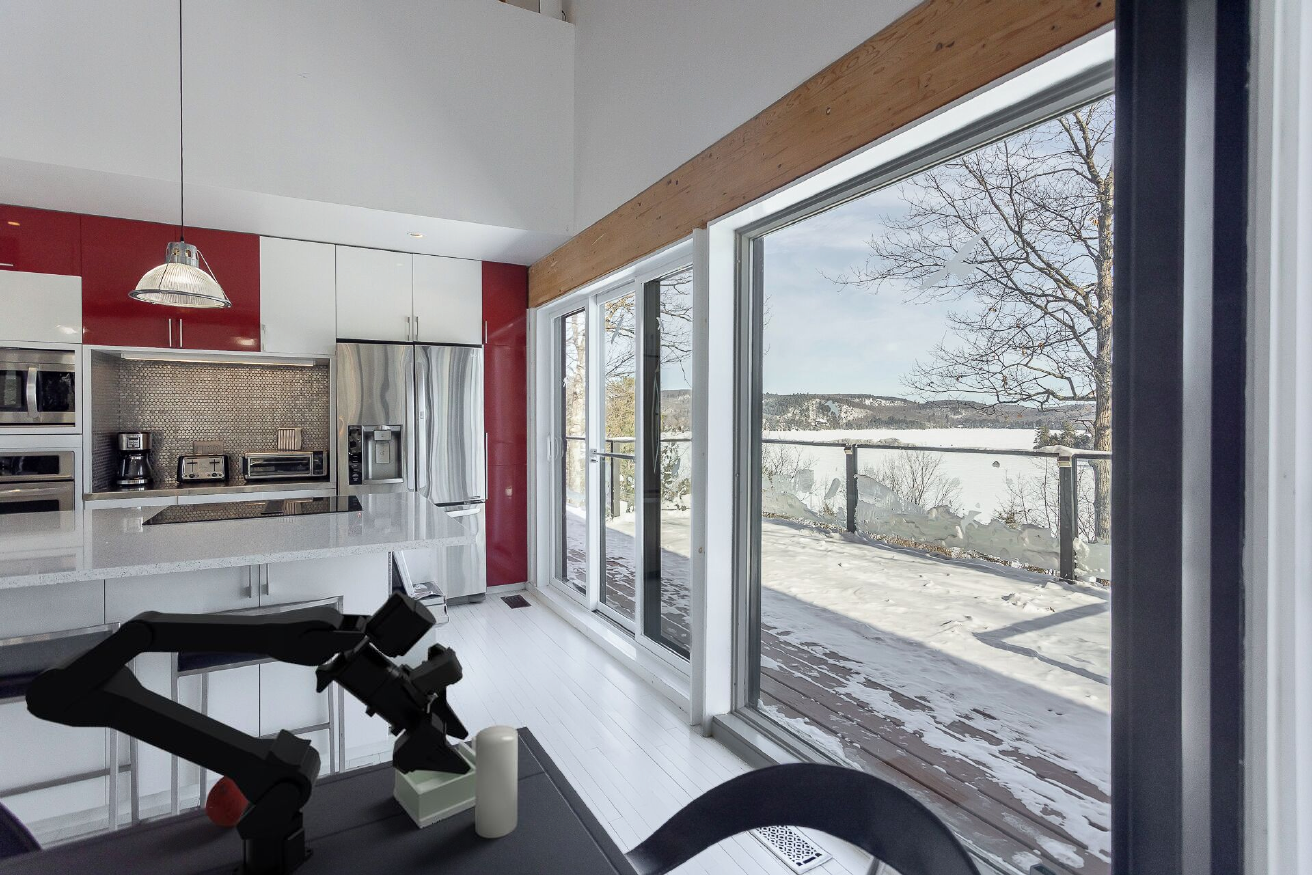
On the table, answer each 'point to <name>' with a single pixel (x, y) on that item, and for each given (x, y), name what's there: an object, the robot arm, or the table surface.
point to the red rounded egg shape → (225, 803)
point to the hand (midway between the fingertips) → (467, 753)
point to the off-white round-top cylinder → (496, 781)
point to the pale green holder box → (437, 790)
